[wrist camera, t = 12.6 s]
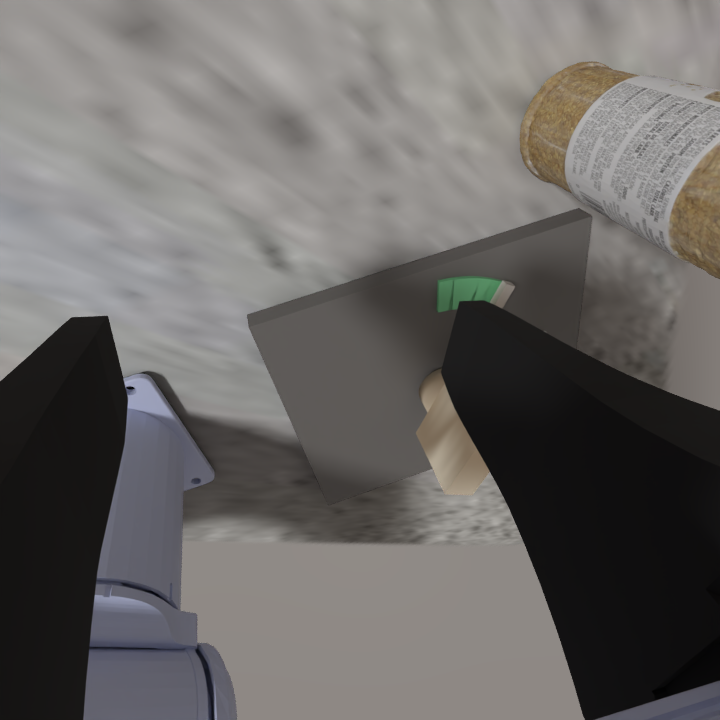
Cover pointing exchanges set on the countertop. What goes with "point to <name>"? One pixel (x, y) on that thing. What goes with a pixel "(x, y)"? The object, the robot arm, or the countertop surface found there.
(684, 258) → the sprinkles bottle
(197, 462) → the robot arm
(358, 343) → the dial board
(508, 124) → the countertop surface
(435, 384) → the peg
